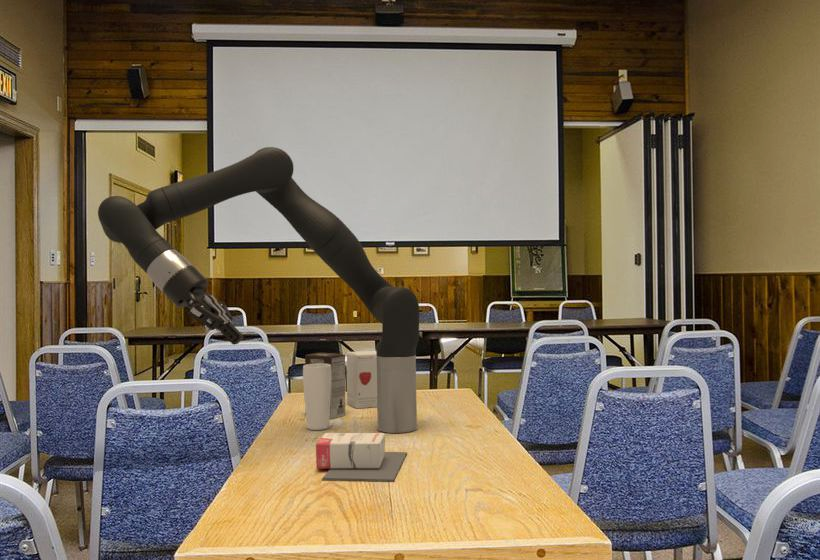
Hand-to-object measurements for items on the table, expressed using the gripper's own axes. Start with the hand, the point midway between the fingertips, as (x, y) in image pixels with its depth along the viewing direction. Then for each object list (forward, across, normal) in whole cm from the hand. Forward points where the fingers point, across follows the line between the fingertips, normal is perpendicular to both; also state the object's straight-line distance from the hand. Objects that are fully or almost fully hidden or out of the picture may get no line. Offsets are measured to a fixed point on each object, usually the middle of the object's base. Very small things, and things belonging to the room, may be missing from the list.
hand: (239, 341), depth 122 cm
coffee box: (+20, +46, +13) cm, 52 cm away
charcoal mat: (+34, 0, -1) cm, 34 cm away
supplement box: (+26, +61, +8) cm, 67 cm away
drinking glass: (+22, +31, +12) cm, 40 cm away
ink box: (+25, 0, +4) cm, 26 cm away
